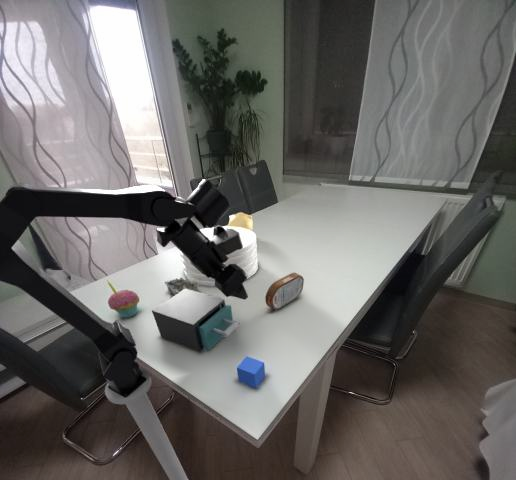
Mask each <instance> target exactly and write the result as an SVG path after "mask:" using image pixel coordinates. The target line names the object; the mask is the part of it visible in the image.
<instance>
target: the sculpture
mask: <svg viewBox="0 0 516 480" xmlns="http://www.w3.org/2000/svg"><path fill="white" fill-rule="evenodd" d="M228 218H229V222H228V224H227V226H231V227H241V228H245V229H248V230H251V231H252V232H253V229H254V221H253V216H252V215H249V214H247V213H244V212H242V211H240V212H237V213H234V214H231V215H229V217H228Z"/></svg>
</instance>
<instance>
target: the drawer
mask: <svg viewBox="0 0 516 480" xmlns="http://www.w3.org/2000/svg"><path fill="white" fill-rule="evenodd" d="M238 326H240V322H239V320H233V312H232V305H231V304H225V306H224V307H223V308H222V306H221V305H220V306H219V307H218V308H217V309H216V310H214V311H213V312H212V313H211V314H210V315H208V316H207V317H206V318H205V319H203V320H202V321H201V322H200V323H199V324H197V325H196V328H197V332H198V336H199V340H200V344H201V345H203V346H204V349H203V351H207V352H208V351H210V350H211V348H213V347H214V346H215V345H216V344H217V343H218V342H219V341H220V340H221V339H222V338H228V336H230V334H231V333H233V331H234V330H235V329H237V328H238Z"/></svg>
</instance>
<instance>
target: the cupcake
mask: <svg viewBox="0 0 516 480" xmlns="http://www.w3.org/2000/svg"><path fill="white" fill-rule="evenodd" d="M106 282H107V284H108V286H109V287H110V289H111V290H112V292H113V294H111V295H110V296H109V298H108V300H107V304H108V307H109V308H110V309H111V310H114V311H116V312H117V313H118V315H119V316H120V317H122V318H131V317H133V316H135V315H136V314H137V312H138V303H139V302H140V298H139V297H140V296H139V295H138V293H136V292H135V291H133V290H129V289H122V290H119V291H117V290H116V288H115V287H114V286H113V284H112V283H111V281H109V280H107V279H106Z"/></svg>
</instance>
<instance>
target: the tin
mask: <svg viewBox="0 0 516 480" xmlns="http://www.w3.org/2000/svg"><path fill="white" fill-rule="evenodd" d="M304 283H305V278H304V277H303V276H302V275H301V274H299V273H297V272H291V273H289V274H287V275H285V276H284V277H281V278H279V279H277V280H276V281H274V282H272V283H271V285H270V286H269V287H268V288H267V291H266V294H265V300H264V302H265V305H266V306H267V307H269V308H271V309H273V310H279V309H282V308H283V307H285V306H286V305H288V304H290V303H291V302H293V301H295V300H296V299H298V297H299V296H300V295H301V294H302V291H303V289H304Z"/></svg>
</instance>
